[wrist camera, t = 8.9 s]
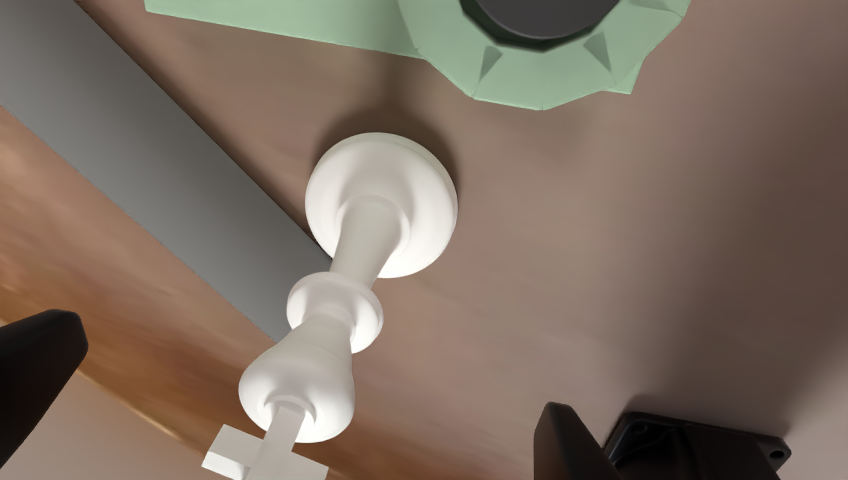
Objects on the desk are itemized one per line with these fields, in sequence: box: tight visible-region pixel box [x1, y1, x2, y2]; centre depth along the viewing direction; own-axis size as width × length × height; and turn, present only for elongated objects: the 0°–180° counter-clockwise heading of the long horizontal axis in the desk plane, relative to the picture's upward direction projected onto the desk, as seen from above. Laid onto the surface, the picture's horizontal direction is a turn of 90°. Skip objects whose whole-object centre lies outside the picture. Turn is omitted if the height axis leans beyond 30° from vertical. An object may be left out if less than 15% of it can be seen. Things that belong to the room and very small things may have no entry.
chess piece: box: [202, 132, 458, 480], centre depth 10 cm, size 5×5×10 cm
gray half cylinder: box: [0, 0, 332, 343], centre depth 13 cm, size 4×20×2 cm, turn 39°
